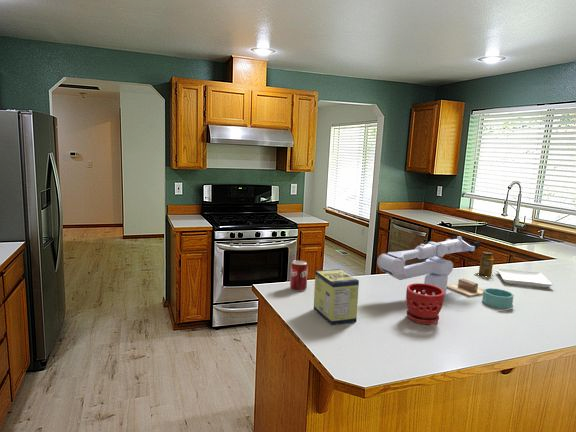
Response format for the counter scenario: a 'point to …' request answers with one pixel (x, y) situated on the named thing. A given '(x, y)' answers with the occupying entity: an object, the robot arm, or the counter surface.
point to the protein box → (336, 296)
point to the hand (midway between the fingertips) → (472, 242)
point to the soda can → (298, 275)
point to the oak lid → (466, 288)
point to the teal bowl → (498, 298)
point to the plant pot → (424, 303)
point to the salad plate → (524, 278)
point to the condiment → (486, 265)
